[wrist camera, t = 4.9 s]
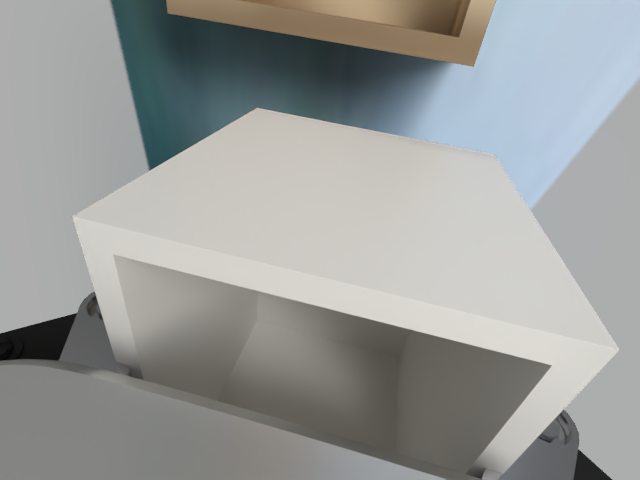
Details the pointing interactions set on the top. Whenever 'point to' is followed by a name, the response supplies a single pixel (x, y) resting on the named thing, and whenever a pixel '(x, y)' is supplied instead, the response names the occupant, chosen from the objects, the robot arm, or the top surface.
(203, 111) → the top surface
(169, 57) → the top surface
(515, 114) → the top surface
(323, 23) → the pine crate
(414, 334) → the cream crate
